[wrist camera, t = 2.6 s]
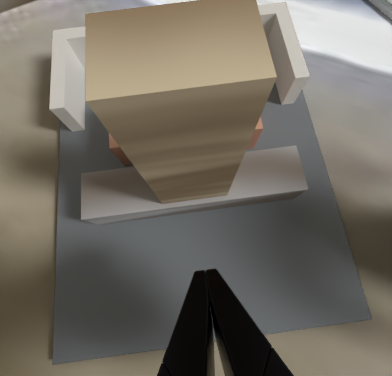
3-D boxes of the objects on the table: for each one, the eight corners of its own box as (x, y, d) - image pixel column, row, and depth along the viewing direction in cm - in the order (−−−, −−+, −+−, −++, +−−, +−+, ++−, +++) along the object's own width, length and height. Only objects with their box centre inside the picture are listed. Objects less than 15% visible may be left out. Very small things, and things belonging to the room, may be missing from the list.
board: (366, 317, 15) (372, 319, 15) (57, 361, 15) (52, 364, 14) (281, 31, 22) (282, 26, 21) (65, 58, 22) (62, 54, 21)
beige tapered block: (293, 198, 17) (517, 58, 5) (98, 225, 17) (-166, 145, 5) (283, 160, 18) (454, -41, 6) (97, 184, 18) (-128, 30, 6)
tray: (293, 103, 19) (309, 76, 16) (72, 131, 19) (49, 109, 16) (274, 36, 21) (285, 2, 18) (73, 61, 21) (53, 30, 18)
